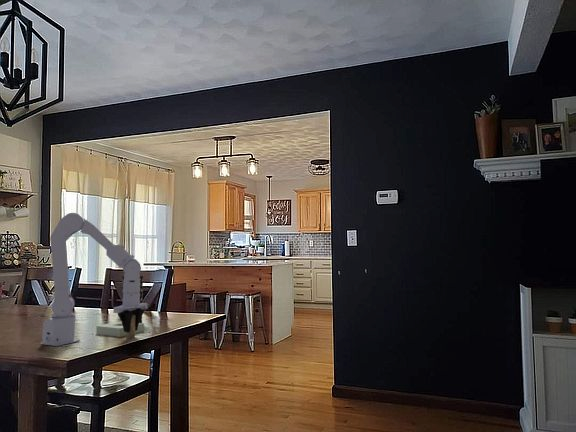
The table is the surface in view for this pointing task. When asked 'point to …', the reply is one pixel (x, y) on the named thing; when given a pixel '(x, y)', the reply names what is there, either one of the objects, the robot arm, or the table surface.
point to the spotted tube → (140, 292)
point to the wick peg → (131, 329)
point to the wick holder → (115, 329)
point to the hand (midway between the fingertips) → (130, 331)
